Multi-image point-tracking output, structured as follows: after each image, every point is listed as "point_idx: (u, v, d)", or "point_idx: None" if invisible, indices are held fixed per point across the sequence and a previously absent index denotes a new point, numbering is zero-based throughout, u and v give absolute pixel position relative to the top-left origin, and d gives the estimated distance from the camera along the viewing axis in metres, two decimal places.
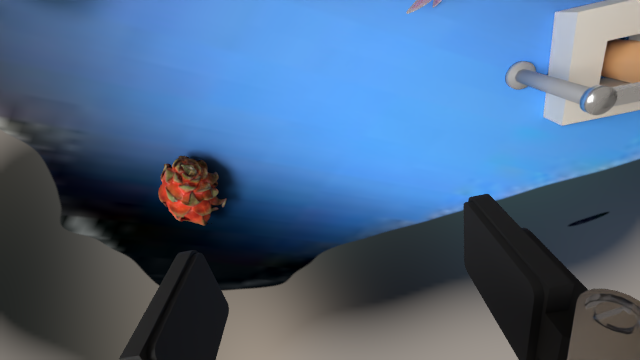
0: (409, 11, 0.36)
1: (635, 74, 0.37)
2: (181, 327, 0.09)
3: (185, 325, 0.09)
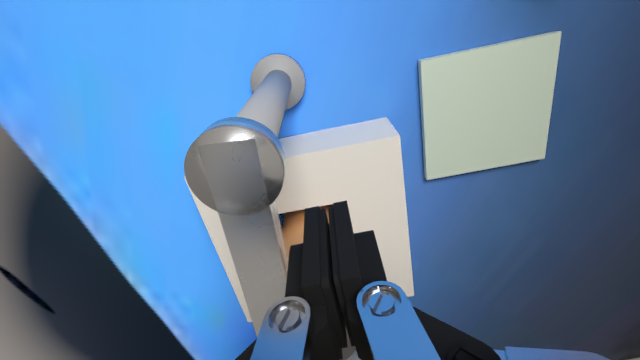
0: None
1: None
2: (331, 269, 0.10)
3: (332, 268, 0.10)
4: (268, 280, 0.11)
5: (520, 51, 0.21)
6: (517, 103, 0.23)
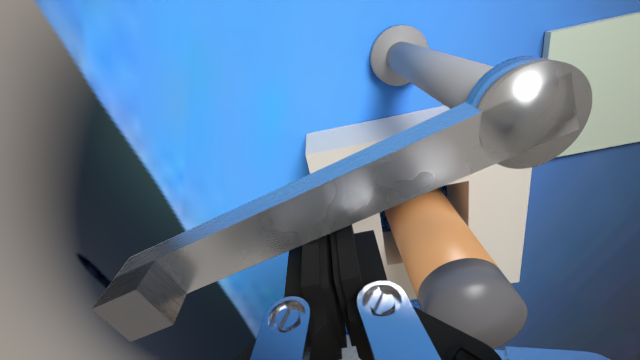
0: None
1: (436, 236, 0.18)
2: (330, 269, 0.10)
3: (331, 268, 0.10)
4: (385, 189, 0.09)
5: None
6: None
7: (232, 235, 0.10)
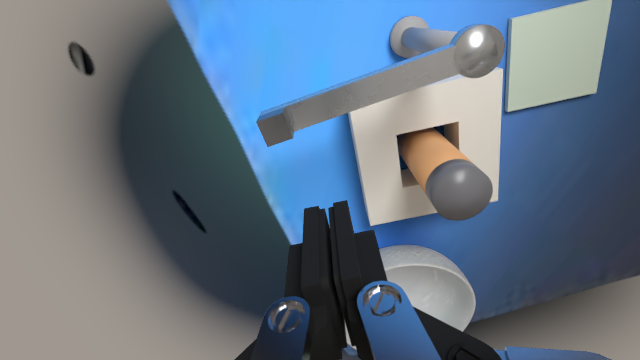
0: None
1: (436, 151, 0.28)
2: (330, 269, 0.10)
3: (331, 268, 0.10)
4: (407, 81, 0.19)
5: (583, 10, 0.30)
6: (578, 49, 0.31)
7: (327, 97, 0.19)
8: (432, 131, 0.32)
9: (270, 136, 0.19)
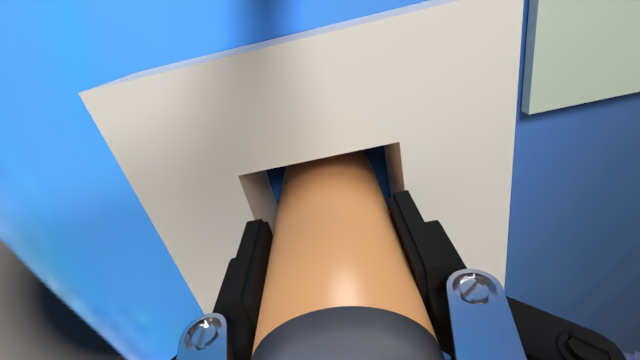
0: None
1: (305, 248, 0.09)
2: (262, 283, 0.10)
3: (264, 282, 0.10)
4: None
5: None
6: None
7: None
8: (340, 164, 0.13)
9: None
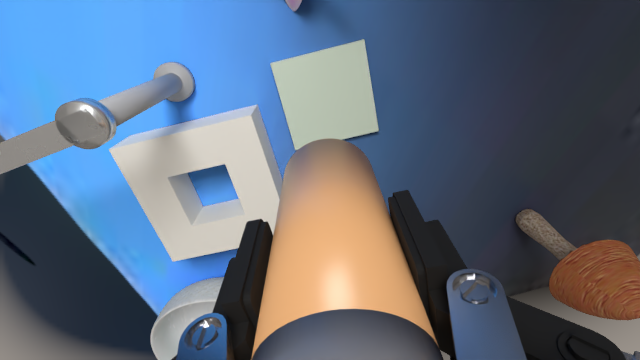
0: None
1: (305, 251, 0.09)
2: (262, 283, 0.10)
3: (264, 282, 0.10)
4: (25, 152, 0.19)
5: (338, 54, 0.30)
6: (347, 91, 0.32)
7: None
8: (340, 166, 0.13)
9: None
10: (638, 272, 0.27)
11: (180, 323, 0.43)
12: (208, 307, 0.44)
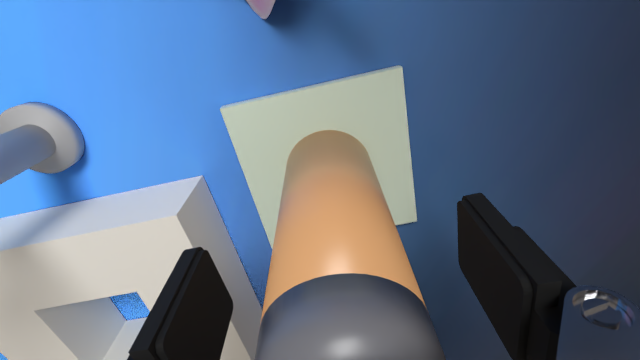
0: None
1: (308, 227, 0.10)
2: (188, 322, 0.09)
3: (192, 320, 0.09)
4: None
5: (351, 93, 0.16)
6: None
7: None
8: (339, 154, 0.14)
9: None
10: None
11: None
12: None
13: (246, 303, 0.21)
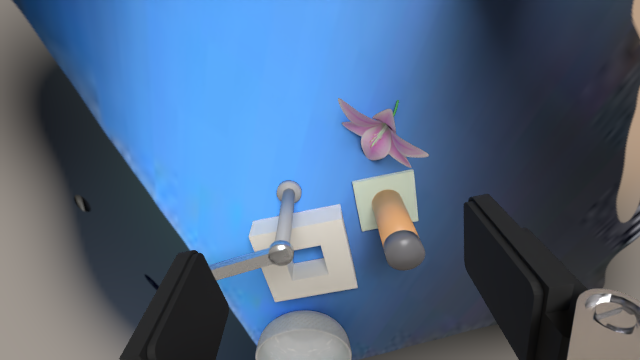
0: (339, 101, 0.38)
1: (392, 221, 0.41)
2: (181, 327, 0.09)
3: (185, 325, 0.09)
4: (247, 266, 0.36)
5: (396, 178, 0.47)
6: None
7: None
8: (394, 200, 0.45)
9: None
10: None
11: (268, 340, 0.61)
12: None
13: (350, 253, 0.52)
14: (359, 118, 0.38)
